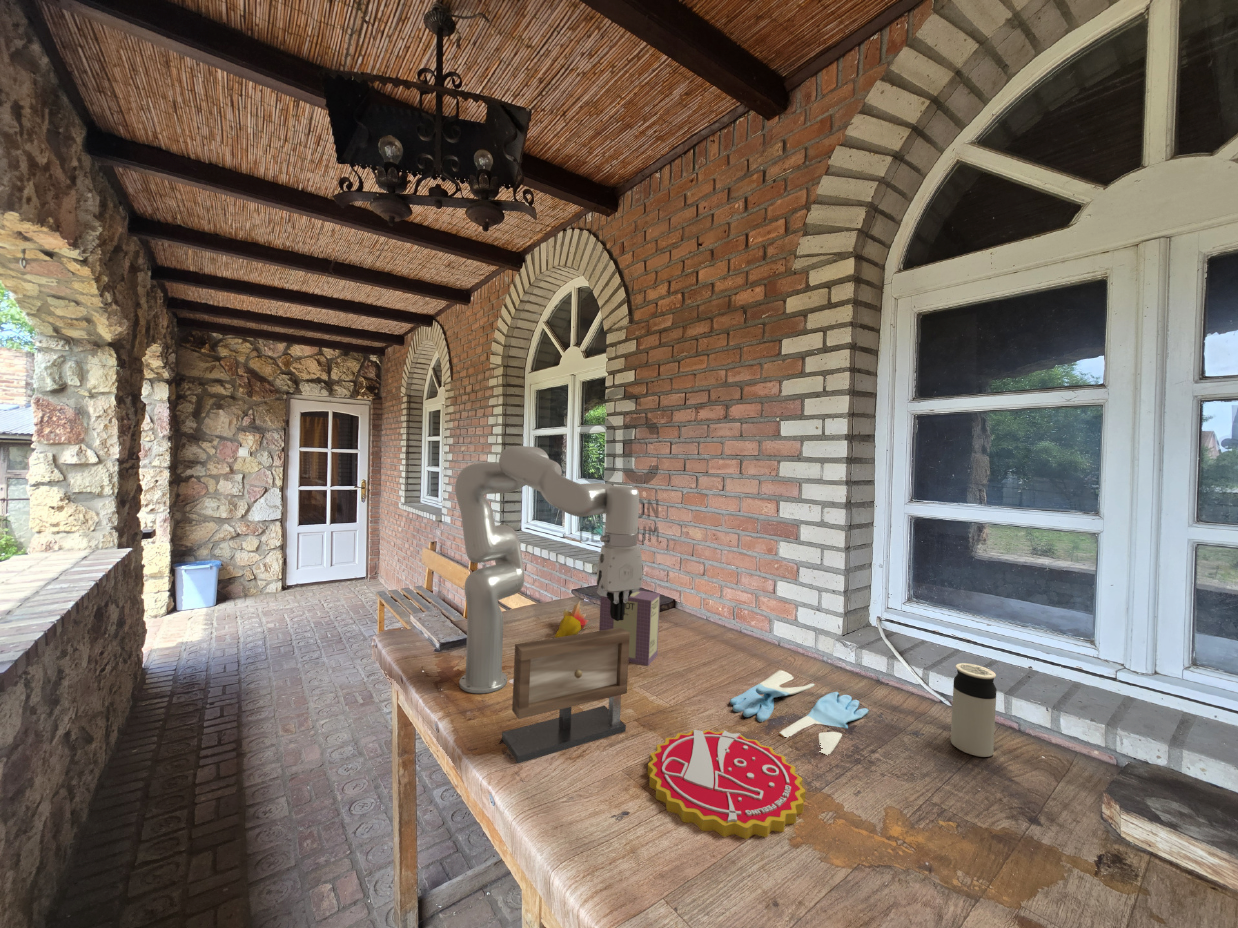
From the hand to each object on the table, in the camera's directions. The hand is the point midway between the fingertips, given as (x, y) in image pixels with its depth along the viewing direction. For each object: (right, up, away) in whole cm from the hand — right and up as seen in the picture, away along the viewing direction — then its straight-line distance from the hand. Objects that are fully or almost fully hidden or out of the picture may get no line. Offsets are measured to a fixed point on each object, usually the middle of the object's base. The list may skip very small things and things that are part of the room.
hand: (617, 618), depth 116 cm
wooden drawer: (-10, -17, -6) cm, 20 cm away
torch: (-17, -24, +59) cm, 66 cm away
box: (+3, -25, +44) cm, 51 cm away
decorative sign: (+21, -28, -17) cm, 39 cm away
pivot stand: (-12, -25, -3) cm, 28 cm away
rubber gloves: (+47, -28, +14) cm, 57 cm away
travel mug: (+81, -29, -1) cm, 86 cm away
